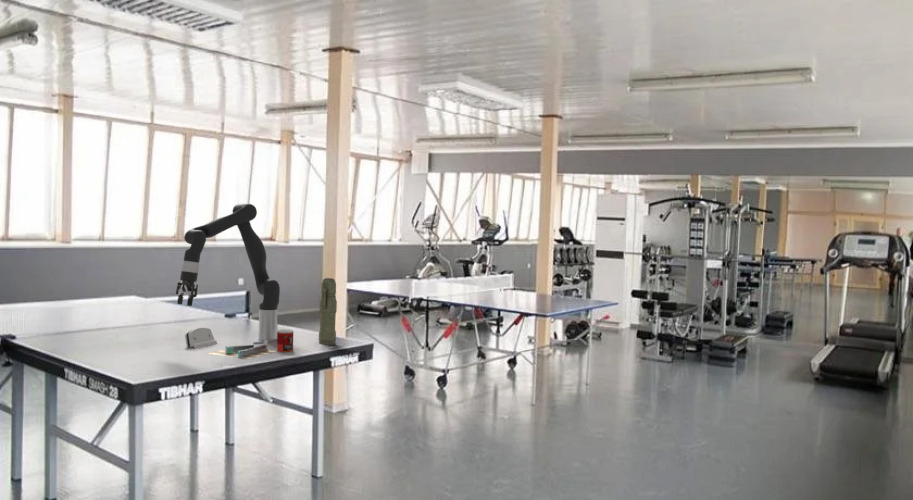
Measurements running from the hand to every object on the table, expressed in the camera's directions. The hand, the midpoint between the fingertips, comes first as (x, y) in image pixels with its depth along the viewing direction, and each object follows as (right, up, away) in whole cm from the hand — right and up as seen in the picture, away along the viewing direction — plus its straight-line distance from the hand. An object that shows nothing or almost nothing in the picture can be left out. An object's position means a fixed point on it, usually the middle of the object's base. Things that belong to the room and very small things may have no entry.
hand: (184, 305), depth 324 cm
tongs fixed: (+33, -23, -1) cm, 41 cm away
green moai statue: (+61, -24, +35) cm, 75 cm away
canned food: (+45, -24, +10) cm, 52 cm away
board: (+27, -24, +1) cm, 36 cm away
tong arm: (+28, -22, +1) cm, 36 cm away
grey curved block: (-1, -23, +22) cm, 31 cm away
